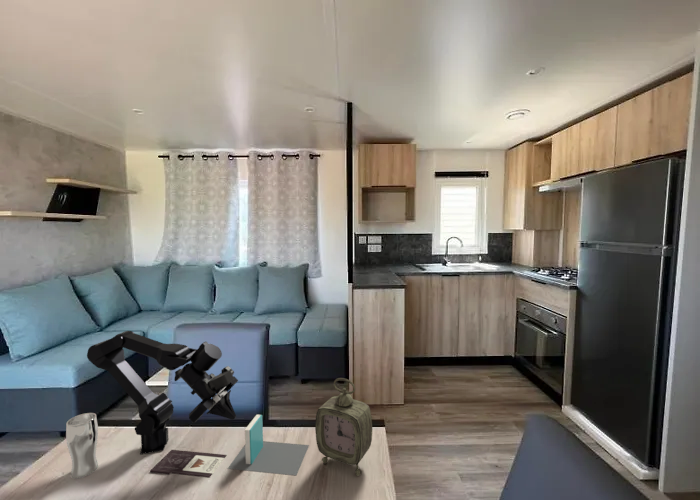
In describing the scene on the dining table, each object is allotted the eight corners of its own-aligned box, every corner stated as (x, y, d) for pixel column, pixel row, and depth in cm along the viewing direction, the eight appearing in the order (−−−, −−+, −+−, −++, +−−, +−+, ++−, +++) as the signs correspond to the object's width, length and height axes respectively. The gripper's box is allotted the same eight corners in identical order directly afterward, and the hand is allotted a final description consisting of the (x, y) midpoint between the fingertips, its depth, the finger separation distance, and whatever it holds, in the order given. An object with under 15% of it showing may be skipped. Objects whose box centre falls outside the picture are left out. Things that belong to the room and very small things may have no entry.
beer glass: (73, 466, 96) (70, 415, 95) (103, 459, 99) (100, 410, 98) (64, 483, 90) (60, 428, 89) (96, 475, 93) (92, 422, 92)
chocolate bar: (171, 449, 102) (226, 454, 100) (171, 452, 103) (226, 457, 100) (149, 470, 94) (209, 476, 91) (150, 473, 94) (209, 480, 91)
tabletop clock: (315, 465, 96) (314, 379, 94) (332, 446, 104) (331, 367, 102) (361, 482, 89) (360, 390, 88) (375, 461, 97) (374, 376, 96)
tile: (245, 463, 96) (244, 429, 95) (257, 445, 104) (256, 414, 103) (251, 464, 96) (250, 430, 95) (263, 446, 104) (262, 415, 103)
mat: (227, 469, 94) (227, 468, 94) (248, 441, 107) (248, 439, 107) (296, 476, 91) (296, 475, 91) (309, 446, 104) (309, 445, 104)
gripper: (197, 376, 91) (237, 418, 90) (231, 351, 109) (264, 386, 108) (171, 402, 92) (210, 444, 91) (210, 373, 111) (242, 408, 110)
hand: (234, 418), depth 100 cm, fingers closed
